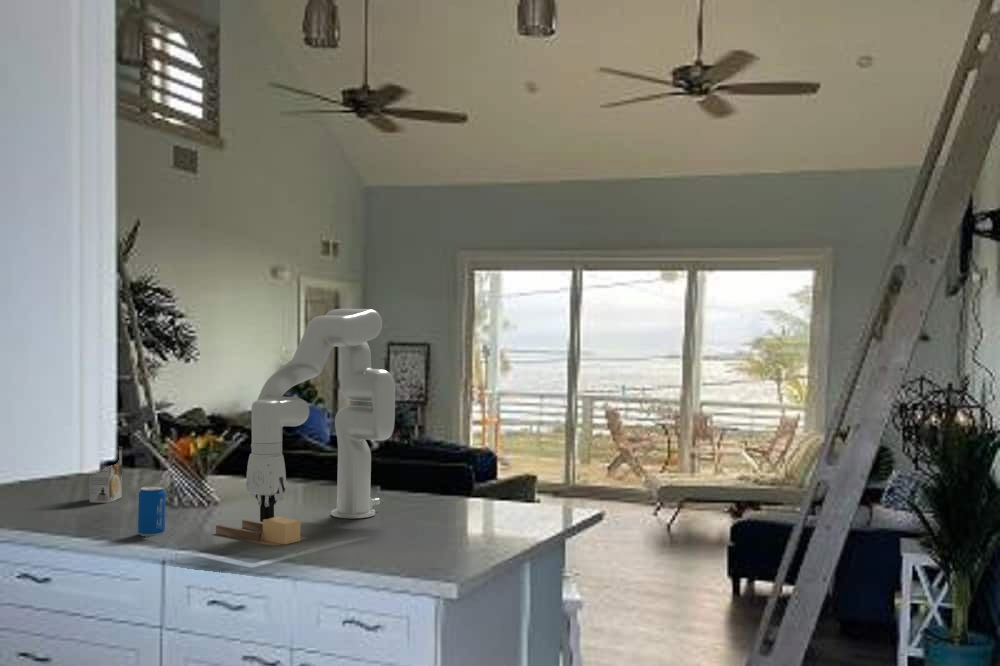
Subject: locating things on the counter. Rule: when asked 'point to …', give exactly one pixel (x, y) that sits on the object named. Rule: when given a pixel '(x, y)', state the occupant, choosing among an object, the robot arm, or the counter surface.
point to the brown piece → (247, 532)
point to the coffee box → (107, 483)
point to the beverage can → (151, 511)
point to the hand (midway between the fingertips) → (267, 521)
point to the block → (281, 530)
